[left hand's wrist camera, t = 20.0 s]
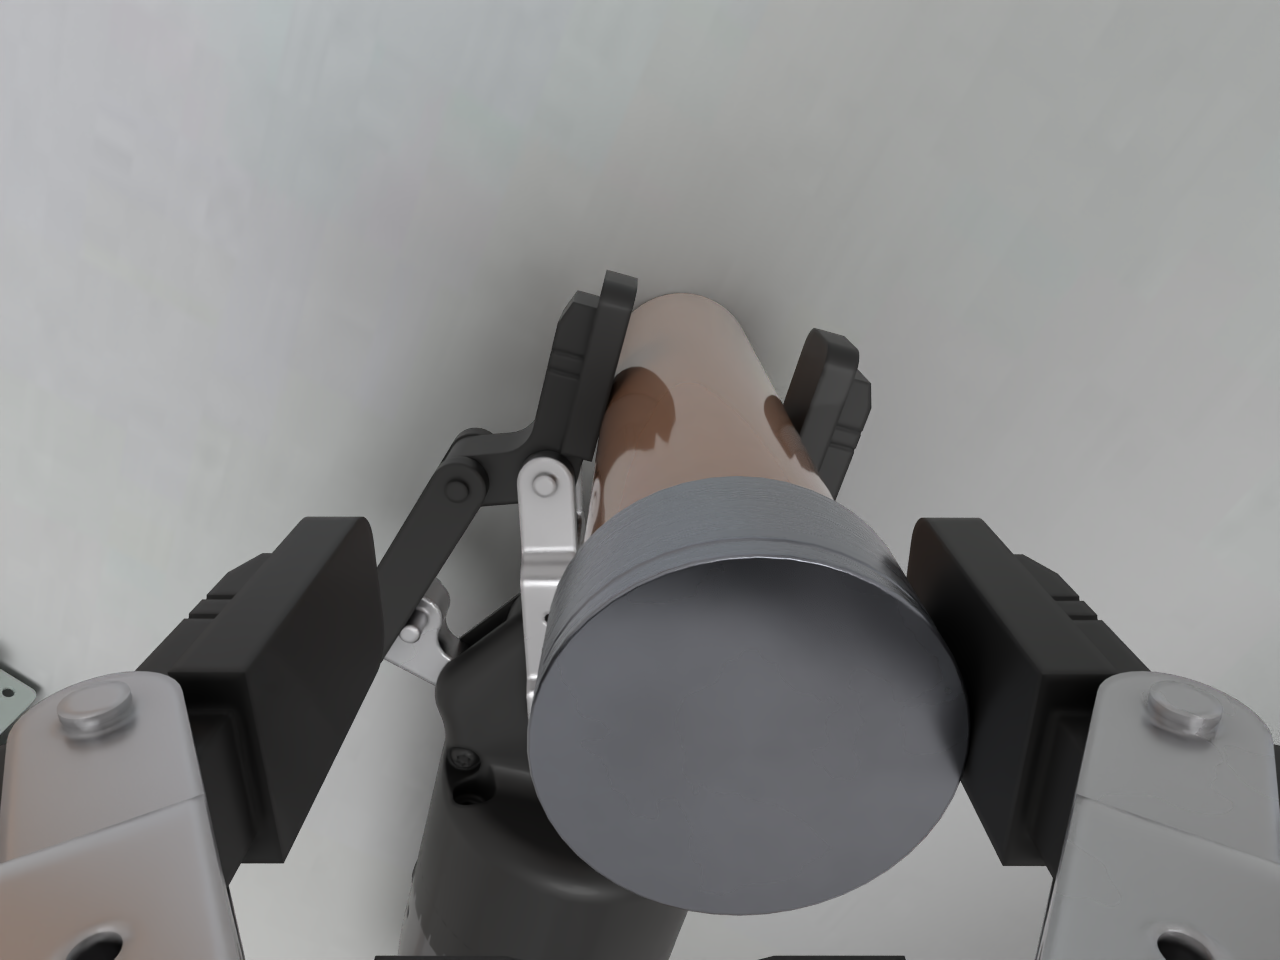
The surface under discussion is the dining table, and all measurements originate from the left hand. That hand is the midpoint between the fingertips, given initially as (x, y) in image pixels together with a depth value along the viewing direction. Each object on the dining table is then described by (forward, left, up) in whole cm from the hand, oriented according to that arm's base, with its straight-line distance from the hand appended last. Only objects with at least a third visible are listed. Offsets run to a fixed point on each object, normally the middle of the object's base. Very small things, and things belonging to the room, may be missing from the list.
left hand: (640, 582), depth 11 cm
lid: (+1, 0, +2) cm, 3 cm away
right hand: (0, +3, -8) cm, 9 cm away
